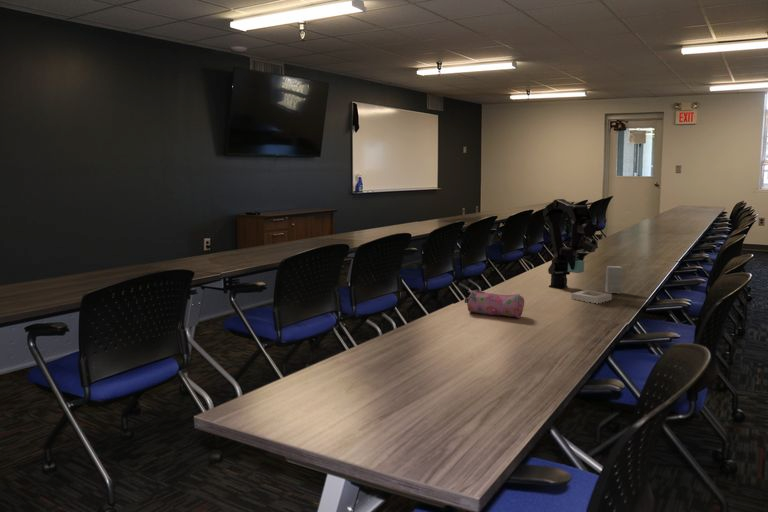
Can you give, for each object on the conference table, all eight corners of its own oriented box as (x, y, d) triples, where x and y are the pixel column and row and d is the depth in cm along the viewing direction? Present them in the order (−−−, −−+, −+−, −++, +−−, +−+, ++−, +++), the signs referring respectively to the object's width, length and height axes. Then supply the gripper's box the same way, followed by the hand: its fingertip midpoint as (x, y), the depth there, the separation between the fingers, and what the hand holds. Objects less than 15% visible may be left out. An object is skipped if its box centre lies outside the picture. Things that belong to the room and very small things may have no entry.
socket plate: (571, 299, 260) (571, 293, 260) (585, 295, 268) (585, 289, 268) (597, 304, 251) (597, 298, 251) (611, 300, 259) (611, 294, 259)
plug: (567, 271, 270) (568, 258, 269) (573, 270, 273) (574, 257, 272) (577, 273, 266) (578, 259, 265) (583, 272, 269) (584, 258, 269)
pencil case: (463, 314, 233) (464, 291, 231) (471, 309, 240) (472, 287, 239) (518, 321, 223) (519, 297, 221) (525, 316, 231) (526, 292, 229)
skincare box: (618, 292, 276) (620, 266, 275) (621, 294, 272) (622, 267, 270) (604, 291, 277) (606, 265, 275) (607, 293, 273) (608, 267, 271)
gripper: (583, 237, 255) (581, 273, 257) (605, 234, 268) (603, 269, 270) (560, 234, 263) (558, 270, 265) (582, 232, 276) (580, 266, 278)
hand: (575, 269), depth 269 cm, fingers closed on plug, 5 cm apart
